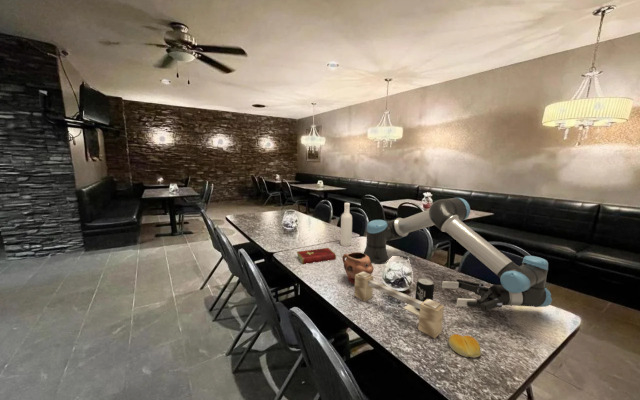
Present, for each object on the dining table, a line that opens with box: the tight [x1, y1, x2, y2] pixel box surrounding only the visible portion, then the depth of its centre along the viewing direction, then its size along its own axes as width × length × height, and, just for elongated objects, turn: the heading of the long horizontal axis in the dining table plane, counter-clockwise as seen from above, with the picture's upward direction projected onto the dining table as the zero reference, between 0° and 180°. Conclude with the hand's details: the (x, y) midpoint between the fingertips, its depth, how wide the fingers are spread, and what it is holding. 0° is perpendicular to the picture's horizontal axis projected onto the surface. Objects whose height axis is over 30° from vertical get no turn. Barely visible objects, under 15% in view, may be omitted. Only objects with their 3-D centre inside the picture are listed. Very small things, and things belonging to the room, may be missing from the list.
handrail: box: [353, 271, 445, 339], centre depth 101 cm, size 36×5×11 cm, turn 41°
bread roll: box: [448, 333, 482, 359], centre depth 82 cm, size 8×9×4 cm
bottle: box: [340, 202, 353, 247], centre depth 180 cm, size 8×8×30 cm
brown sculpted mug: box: [342, 251, 375, 286], centre depth 127 cm, size 20×12×14 cm, turn 43°
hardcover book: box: [296, 247, 337, 265], centre depth 156 cm, size 12×21×4 cm, turn 111°
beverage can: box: [415, 277, 435, 311], centre depth 103 cm, size 7×7×12 cm
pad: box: [403, 304, 420, 317], centre depth 104 cm, size 11×11×1 cm
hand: (449, 292), depth 102 cm, fingers open, 13 cm apart
